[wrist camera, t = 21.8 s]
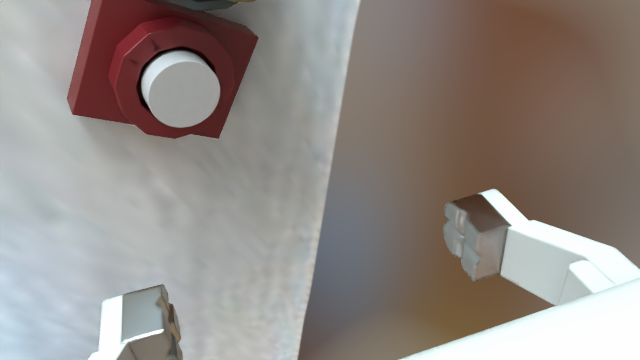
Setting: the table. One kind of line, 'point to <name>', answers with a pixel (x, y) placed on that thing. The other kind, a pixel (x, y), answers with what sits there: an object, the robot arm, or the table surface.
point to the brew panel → (141, 48)
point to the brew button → (180, 88)
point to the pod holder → (204, 4)
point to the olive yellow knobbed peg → (241, 0)
